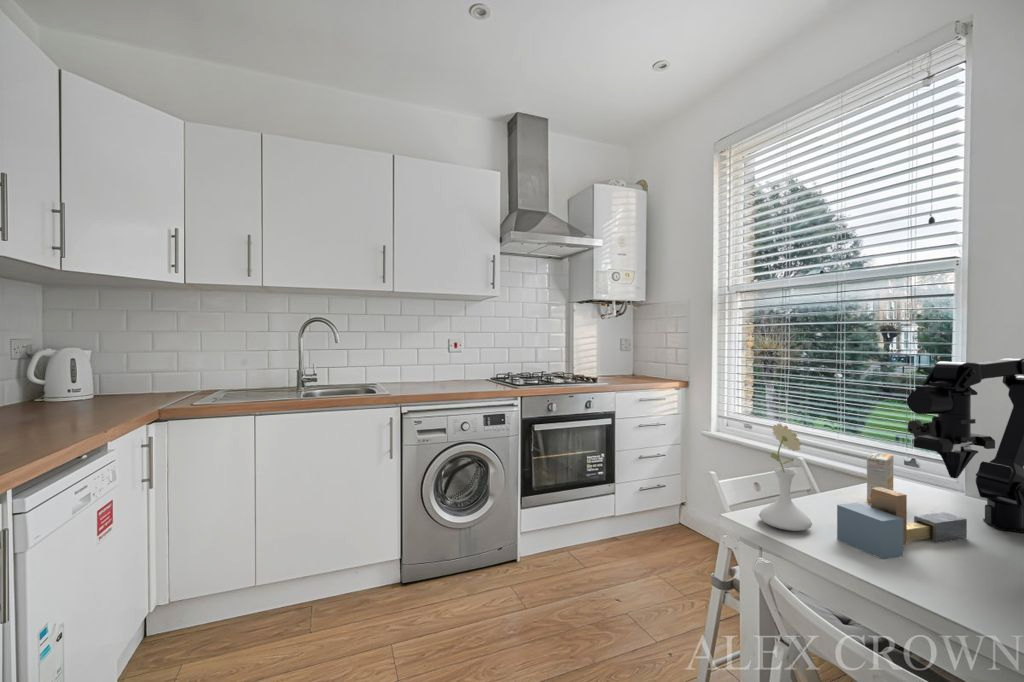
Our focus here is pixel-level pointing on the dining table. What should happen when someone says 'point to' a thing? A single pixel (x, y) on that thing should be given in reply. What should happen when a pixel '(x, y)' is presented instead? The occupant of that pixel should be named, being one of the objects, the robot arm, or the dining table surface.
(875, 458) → the supplement box
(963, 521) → the outer sleeve
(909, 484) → the dining table surface
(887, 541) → the blue-grey rectangular block
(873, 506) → the upright wooden plank
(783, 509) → the flower in vase
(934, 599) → the dining table surface
